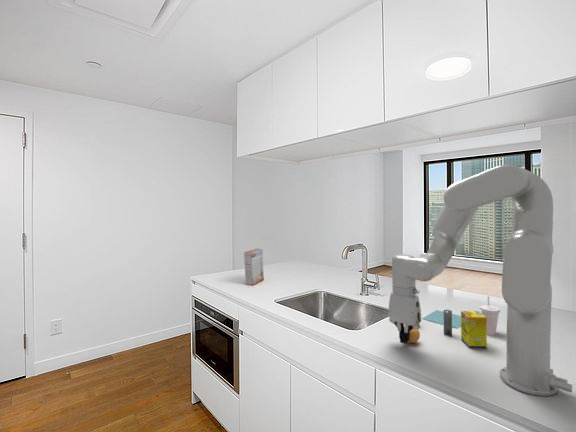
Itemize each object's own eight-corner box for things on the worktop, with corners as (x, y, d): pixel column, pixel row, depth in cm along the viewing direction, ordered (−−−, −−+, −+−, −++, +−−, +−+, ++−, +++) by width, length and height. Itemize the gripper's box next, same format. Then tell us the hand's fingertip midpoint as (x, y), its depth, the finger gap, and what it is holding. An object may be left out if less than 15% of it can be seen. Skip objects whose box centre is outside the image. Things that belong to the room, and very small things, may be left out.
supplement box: (460, 340, 112) (460, 310, 111) (478, 340, 111) (478, 310, 111) (468, 348, 106) (468, 316, 106) (487, 348, 106) (487, 317, 105)
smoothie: (475, 330, 120) (475, 294, 120) (491, 329, 121) (491, 293, 120) (487, 337, 114) (487, 299, 113) (504, 336, 114) (504, 298, 114)
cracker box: (256, 279, 208) (255, 248, 207) (264, 280, 206) (263, 248, 205) (244, 284, 196) (243, 251, 195) (253, 285, 193) (251, 252, 192)
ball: (422, 342, 112) (423, 326, 112) (414, 346, 108) (414, 329, 108) (406, 337, 116) (407, 321, 116) (398, 341, 112) (399, 324, 112)
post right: (453, 334, 117) (453, 310, 117) (450, 336, 115) (450, 312, 115) (445, 332, 119) (445, 309, 119) (442, 334, 117) (442, 311, 117)
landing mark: (470, 318, 131) (470, 318, 131) (457, 328, 122) (457, 327, 122) (436, 310, 142) (436, 310, 142) (422, 318, 133) (422, 318, 133)
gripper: (430, 292, 105) (430, 345, 106) (389, 284, 116) (390, 332, 117) (420, 297, 100) (421, 353, 101) (378, 288, 111) (379, 339, 112)
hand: (404, 341), depth 109 cm, fingers closed
